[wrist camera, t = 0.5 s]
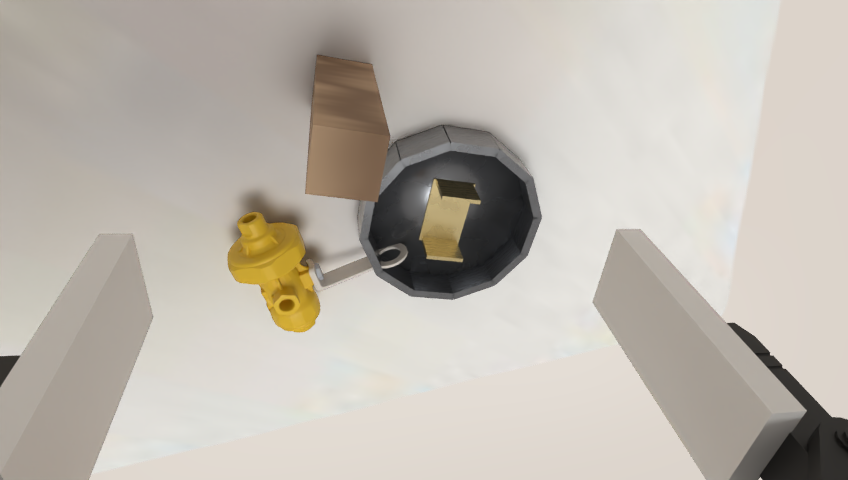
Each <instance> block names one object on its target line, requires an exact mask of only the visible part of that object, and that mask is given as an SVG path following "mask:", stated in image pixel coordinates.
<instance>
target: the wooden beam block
mask: <svg viewBox="0 0 848 480" xmlns="http://www.w3.org/2000/svg"><path fill="white" fill-rule="evenodd" d="M389 140H390V133H389V130H388V126H387V122H386V118H385V114H384V110H383V106H382V102H381V98H380V94H379V90H378V86H377V82H376V78H375V74H374V70H373V66H372V64H367V63H361V62H356V61H350V60H344V59H339V58H333V57H328V56H322V55H317V59H316V68H315V78H314V87H313V96H312V105H311V118H310V133H309V147H308V161H307V175H306V190H305V194H311V195H320V196H328V197H337V198H346V199H354V200H363V201H371V202H378V197H379V192H380V186H381V181H382V176H383V171H384V166H385V160H386V155H387V150H388V145H389Z"/></svg>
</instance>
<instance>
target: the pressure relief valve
mask: <svg viewBox="0 0 848 480" xmlns="http://www.w3.org/2000/svg"><path fill="white" fill-rule="evenodd" d="M237 226H238V228H239V230H240V231H241V233H242V235H241V237H240V238H239V239H238V240H237V241H236V242H235V243H234V244H233V245H232V247H231V248H230V250H229V252H228V267H229V270H230V272H231V273H232V275H233V277H234V278H235V280H236V281H238V282H240V283H247V284H259V286H260V287H261V293H262V295H263V296H264V298H265V300H266V302H267V307H268V309H269V311H270V313H271V316H272V318H273V320H274V322H275V324H276V325H277V326H278V327H281V328H282V329H284V330H286V331H294V332H305V331H307V330H309V329H310V328H311V327H312V326H313V325H314V324H315V319H316V318H317V317H318V315H319V313H320V302H319V299H318V296H317V294H316V292H315V291H314V290H313V285H315V287H316V289H317V291H322V290H325V289H327V288H330V287H332V286H335V285H337V284H340V283H342V282H345V281H347V280H349V279H352V278H354V277H357V276H359V275H362V274H364V273H367V272H369V271H372V270H374V269H373V267H372V265H371V263H370V261H369V259H368V257H365V258H362V259H360V260H357V261H355V262H352V263H350V264H347V265H345V266H342V267H340V268H337V269H335V270H332V271H330V272H327V273H325V274H322V271H321V269H320V266H319V265H318V264H314V263H313V261H312V259H308V260H306V263H307V265H308V266H303V265H301V264H300V261H301V259H302V258H303V256H304V255H305V253H306V251H305V246H304V243H303V239H302V237H301V234H300V232H299V230H298V228H297V226H296V225H293V224H288V223H282V222H278V223H266V221H265V219H264V217H263V215H262V214H261V213H259V212H251V213H248V214H246V215H244V216H242V217H241V218H240V219H239V220H238V222H237ZM390 249H397V250H399V251H400V254H399V256H398V257H397V258H395V259H394V260H391V261H387V262H383V261H381V267H382V268H390V267H394V266H396V265H398V264H400V263H401V262H402V261H403V260H405V258H406V257H407V254H408V251H407V248H406V246H405V245H404V244H401V243H398V244H395V245H392V246H388V247H385V248H382V249H379V253H380V255H381V254H382V253H383V252H385V251H387V250H390Z"/></svg>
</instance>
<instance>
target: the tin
mask: <svg viewBox="0 0 848 480" xmlns="http://www.w3.org/2000/svg"><path fill="white" fill-rule="evenodd" d="M541 217H542V215H541V211H540V206H539V202H538V197H537V193H536V188H535V184H534V179H533V177H532V176H531V174H530V173H529V172H528V170H527V169H526V167H525V166H524V164H523V163H522V162H521V160H520V159H519V158H518V157H517V156H515V155H514V154H513V153H512V152H511V151H510V150H509V149H508V148H506V147H505V146H504V145H503V144H502V143H501V142H500V141H498V140H497V139H496V138H495V137H494V136H493V135H492V134H490V133H489V132H485V131H479V130H472V129H466V128H459V127H453V126H447V125H443V127H442V125H441V126H438V127H435V128H432V129H429V130H427V131H424V132H421V133H418V134H416V135H413V136H410V137H407V138H405V139H402V140H399V141H396V142H395V143H394V144H393V145H392V146H391V148H390V149H389V150H388V151H387V155H386V160H385V166H384V171H383V176H382V181H381V186H380V192H379V197H378V202H371V201H363V200H360V205H359V211H358V217H357V219H358V230H359V240H360V242H361V244H362V246H363V248H364V251H365V253H366V255H367V257H368V259H369V261H370V263H371V265H372V267H373V269H374V272H375V274H376V275H377V276H378V277H380V278H381V279H383V280H385V281H386V282H388V283H390V284H391V285H393V286H395V287H396V288H398V289H399V290H401V291H403V292H404V293H406V294H408V295H409V296H411V297H425V298H438V299H451V300H453V298H454V299H457V298H460V297H463V296H466V295H469V294H471V293H474V292H477V291H480V290H483V289H486V288H489V287H492V286H495V285H496V284H497V283H498V282H499V281H500V280H502V279H503V278H504V277H505V276H506V275H507V274H508V273H509V272H510V271H511V270H513V269H514V268H515V267H516V266H517V265H518V264H519V263H520V262H521V261H522V260H524V259H525V258H526V257H527V256H528V253H529V250H530V248H531V245H532V242H533V240H534V237H535V234H536V232H537V229H538V227H539V224H540V221H541V219H542V218H541ZM398 243H401V244H404V245H405V246H406V248H407V251H408V254H407V257H406V258H405V260H403V261H402V262H401V263H400V264H398V265H396V266H394V267H390V268H382V267H381V261H383V262H387V261H391V260H394V259H395V258H397V257H398V256H399V254H400V251H399V250H397V249H390V250H387V251H385V252H383V253H382V254H381V255H380V253H379V249H382V248H385V247H388V246H392V245H395V244H398ZM494 284H495V285H494Z"/></svg>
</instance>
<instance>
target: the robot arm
mask: <svg viewBox="0 0 848 480" xmlns="http://www.w3.org/2000/svg"><path fill="white" fill-rule="evenodd" d="M593 304H594V306H595V307H596V309H597V310H598V312H599V313H600V315H601V316H602V318H603V320H604V321H605V323H606V324H607V326H608V327H609V329H610V330H611V332H612V334H613V335H614V337H615V338H616V340H617V341H618V343H619V345H620V346H621V347H622V349H623V351H624V352H625V354H626V355H627V357H628V359H629V360H630V362H631V363H632V365H633V366H634V368H635V369H636V371H637V372H638V374H639V376H640V377H641V379H642V380H643V382H644V384H645V385H646V387H647V388H648V390H649V391H650V393H651V394H652V396H653V397H654V399H655V401H656V402H657V404H658V405H659V407H660V408H661V410H662V412H663V413H664V415H665V416H666V418H667V419H668V421H669V422H670V424H671V425H672V427H673V429H674V430H675V432H676V433H677V435H678V437H679V438H680V440H681V441H682V443H683V444H684V446H685V447H686V449H687V450H688V452H689V454H690V455H691V457H692V458H693V460H694V462H695V463H696V465H697V466H698V468H699V469H700V471H701V472H702V474H703V475H704V477H705V479H706V480H758V479H759V478H760V477H761V478H762V480H848V420H847V419H843V418H835V417H831V416H830V415H829V414H828V413H827V412H826V411H825V410H824V409H823V408H822V407H821V406H820V404H819V403H818V402H817V401H816V400H815V399H814V398H813V397H812V396H811V395H810V394H809V393H808V392H807V391H806V390H805V389H804V388H803V387H802V386H801V385H800V384H799V382H798V381H797V380H796V379H795V378H794V377H793V376H792V375H791V374H790V373H789V372H788V371H787V370H786V369H783V368H782V364H781V363H779V361H778V360H777V359H776V358H775V357H774V356H770V352H769V351H768V350H767V349H766V348H765V347H764V346H763V345H762V344H761V342H760V341H759V340H758V339H757V338H756V337H755V336H753V335H752V334H750V333H749V332H747V331H746V330H744V329H743V328H741V327H740V326H738V325H737V324H735V323H726V322H725V321H724V320H723V319H722V318H721V317H720V315H719V314H718V313H717V312H716V311H715V310H714V309H713V308H712V307H711V306H710V305H709V303H708V302H707V301H706V300H705V299H704V298H703V297H702V296H701V295H700V294H699V293H698V291H697V290H696V289H695V288H694V287H693V286H692V285H691V284H690V283H689V282H688V281H687V279H686V278H685V277H684V276H683V275H682V274H681V273H680V272H679V271H678V270H677V269H676V267H675V266H674V265H673V264H672V263H671V262H670V261H669V260H668V259H667V258H666V257H665V255H664V254H663V253H662V252H661V251H660V250H659V249H658V248H657V247H656V246H655V245H654V243H653V242H652V241H651V240H650V239H649V238H648V237H647V236H646V235H645V234H644V233H643V231H642V230H641V229H616V232H615V235H614V238H613V241H612V244H611V247H610V251H609V254H608V257H607V260H606V263H605V266H604V269H603V272H602V275H601V278H600V281H599V284H598V287H597V290H596V293H595V296H594V299H593ZM152 319H153V314H152V310H151V306H150V302H149V298H148V294H147V290H146V286H145V282H144V278H143V274H142V270H141V266H140V262H139V258H138V253H137V249H136V245H135V241H134V237H133V234H99V235H98V237H97V238H96V240H95V241H94V243H93V244H92V246H91V247H90V249H89V251H88V252H87V254H86V255H85V257H84V258H83V260H82V261H81V263H80V265H79V266H78V268H77V269H76V271H75V272H74V274H73V275H72V277H71V278H70V280H69V282H68V283H67V285H66V286H65V288H64V289H63V291H62V292H61V294H60V295H59V297H58V299H57V300H56V302H55V303H54V305H53V306H52V308H51V309H50V311H49V312H48V314H47V316H46V317H45V319H44V320H43V322H42V323H41V325H40V326H39V328H38V329H37V331H36V333H35V334H34V336H33V337H32V339H31V340H30V342H29V343H28V345H27V347H26V348H25V350H24V351H23V353H22V354H21V356H0V480H89V478H90V475H91V473H92V470H93V468H94V465H95V463H96V460H97V458H98V455H99V453H100V450H101V448H102V445H103V443H104V440H105V438H106V435H107V433H108V430H109V428H110V425H111V423H112V420H113V418H114V415H115V413H116V410H117V407H118V405H119V402H120V400H121V397H122V395H123V392H124V390H125V387H126V385H127V382H128V380H129V377H130V375H131V372H132V370H133V367H134V365H135V362H136V360H137V357H138V355H139V352H140V350H141V347H142V344H143V342H144V339H145V337H146V334H147V332H148V329H149V327H150V324H151V322H152Z"/></svg>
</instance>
